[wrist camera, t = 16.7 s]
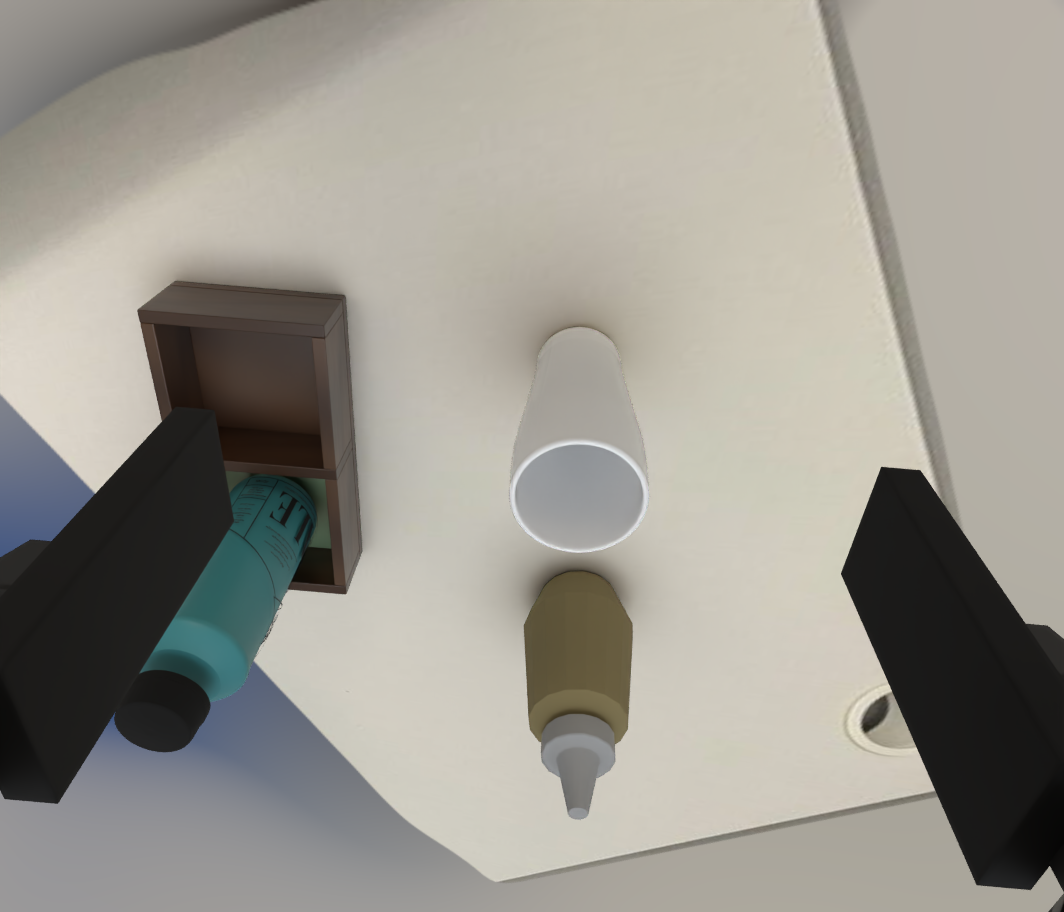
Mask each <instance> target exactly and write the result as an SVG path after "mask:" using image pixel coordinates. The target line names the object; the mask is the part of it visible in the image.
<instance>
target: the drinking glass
mask: <svg viewBox="0 0 1064 912" xmlns="http://www.w3.org/2000/svg"><path fill="white" fill-rule="evenodd" d="M509 500H510V506H511V509H512V512H513V515H514V517H515V519H516V520H517V522H518V524H519V525H520V526H521V528H522V529H523V530H524V531H525V532H526V533H527V534H528V535H529V536H531V537H532V538H533V539H535V540H536V541H538V542H540V543H541V544H543V545H545V546H548V547H550V548H553V549H556V550H560V551H565V552H573V553H586V552H594V551H599V550H603V549H606V548H609V547H611V546H613V545H615V544H617V543H619V542H621V541H623V540H624V539H625V538H627V537H628V536H629V535H630V534H632V533H633V532H634V531H635V529H636V528H637V527H638V526H639V524H640V523H641V521H642V520H643V518H644V516H645V514H646V511H647V508H648V503H649V482H648V467H647V458H646V452H645V447H644V442H643V438H642V434H641V430H640V427H639V424H638V420H637V417H636V414H635V411H634V408H633V404H632V401H631V398H630V395H629V391H628V388H627V385H626V381H625V378H624V374H623V371H622V363H621V358H620V354H619V352H618V350H617V348H616V346H615V345H614V343H613V342H612V341H611V340H610V339H609V338H608V337H607V336H606V335H604V334H603V333H601V332H599V331H597V330H594V329H591V328H586V327H572V328H568V329H564V330H562V331H560V332H558V333H556V334H554V335H553V336H552V337H550V338H549V339H548V340H547V341H546V343H545V344H544V345H543V347H542V348H541V350H540V352H539V355H538V358H537V363H536V371H535V375H534V379H533V382H532V385H531V389H530V392H529V395H528V399H527V402H526V405H525V408H524V412H523V415H522V418H521V421H520V424H519V428H518V431H517V435H516V439H515V443H514V448H513V454H512V461H511V471H510V489H509Z"/></svg>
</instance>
